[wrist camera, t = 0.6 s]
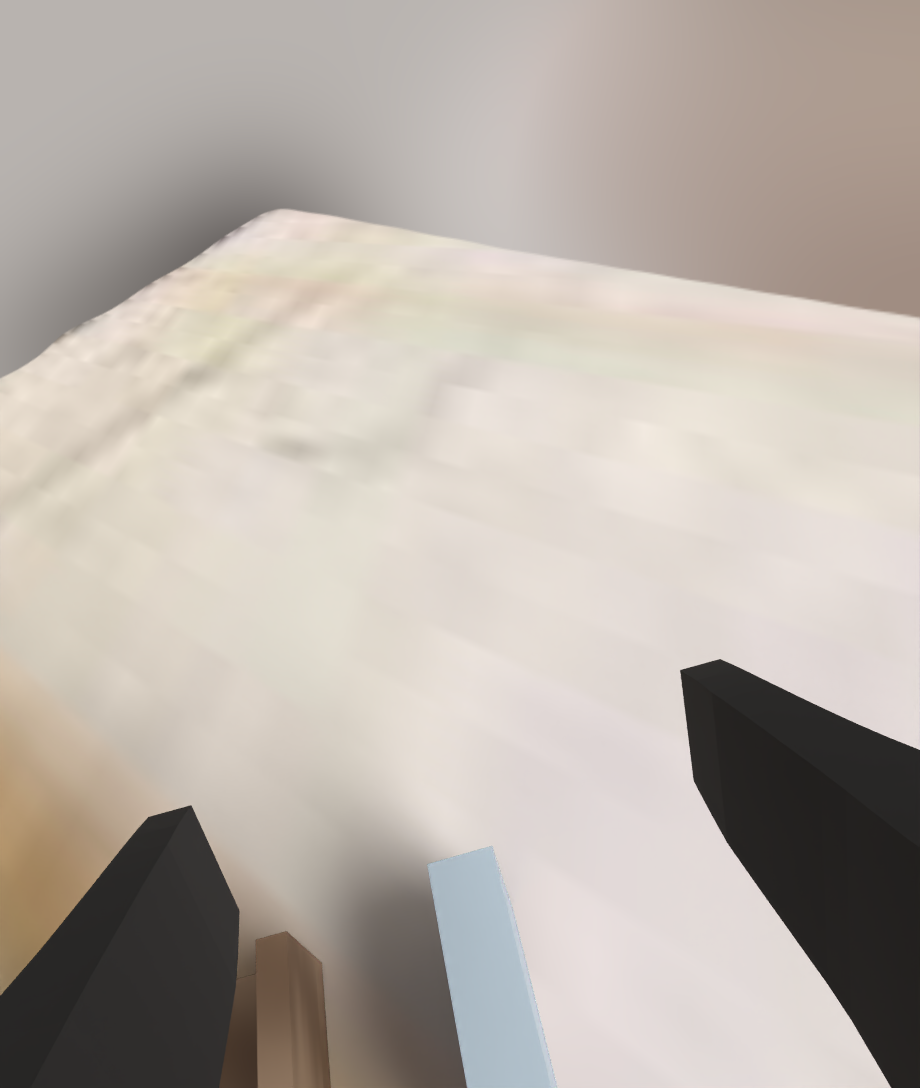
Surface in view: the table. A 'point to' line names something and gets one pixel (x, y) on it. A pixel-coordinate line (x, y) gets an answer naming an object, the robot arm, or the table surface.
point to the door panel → (488, 975)
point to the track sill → (278, 1021)
